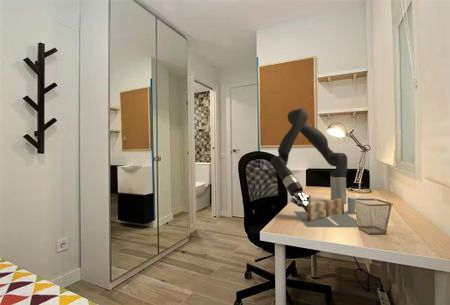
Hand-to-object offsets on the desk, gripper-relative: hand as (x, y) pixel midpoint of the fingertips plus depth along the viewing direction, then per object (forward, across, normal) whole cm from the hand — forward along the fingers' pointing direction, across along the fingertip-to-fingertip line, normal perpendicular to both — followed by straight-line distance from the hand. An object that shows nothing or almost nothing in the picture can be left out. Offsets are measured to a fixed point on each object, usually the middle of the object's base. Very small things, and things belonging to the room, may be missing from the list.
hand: (310, 212), depth 112 cm
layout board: (+5, +9, +1) cm, 10 cm away
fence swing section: (+3, +3, +1) cm, 5 cm away
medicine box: (+5, +32, 0) cm, 32 cm away
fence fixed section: (+3, +17, +2) cm, 17 cm away
